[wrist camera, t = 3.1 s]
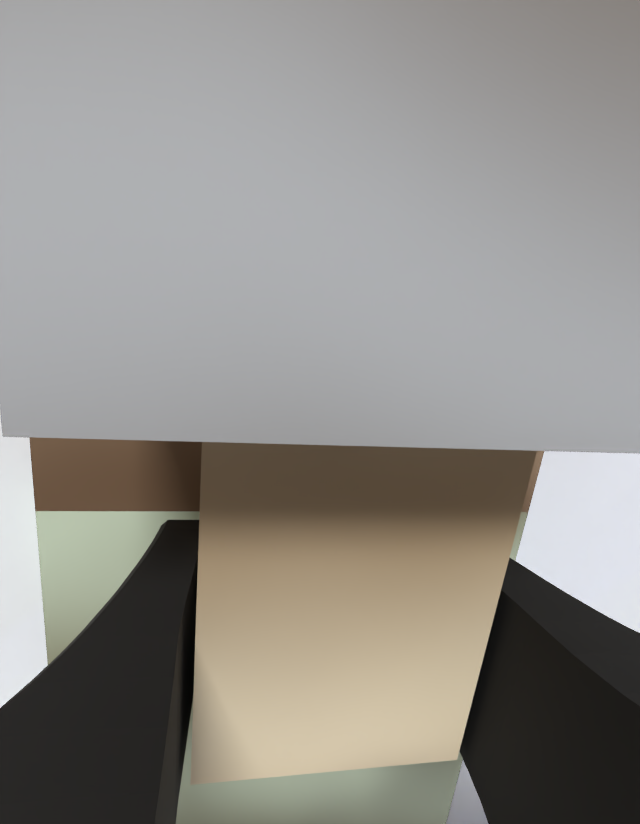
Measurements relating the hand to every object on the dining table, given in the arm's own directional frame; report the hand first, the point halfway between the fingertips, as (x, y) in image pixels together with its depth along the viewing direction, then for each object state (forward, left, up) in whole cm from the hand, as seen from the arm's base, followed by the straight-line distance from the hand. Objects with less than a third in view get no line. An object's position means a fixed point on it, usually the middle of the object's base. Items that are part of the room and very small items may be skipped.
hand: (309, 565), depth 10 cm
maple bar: (+3, 0, -1) cm, 3 cm away
